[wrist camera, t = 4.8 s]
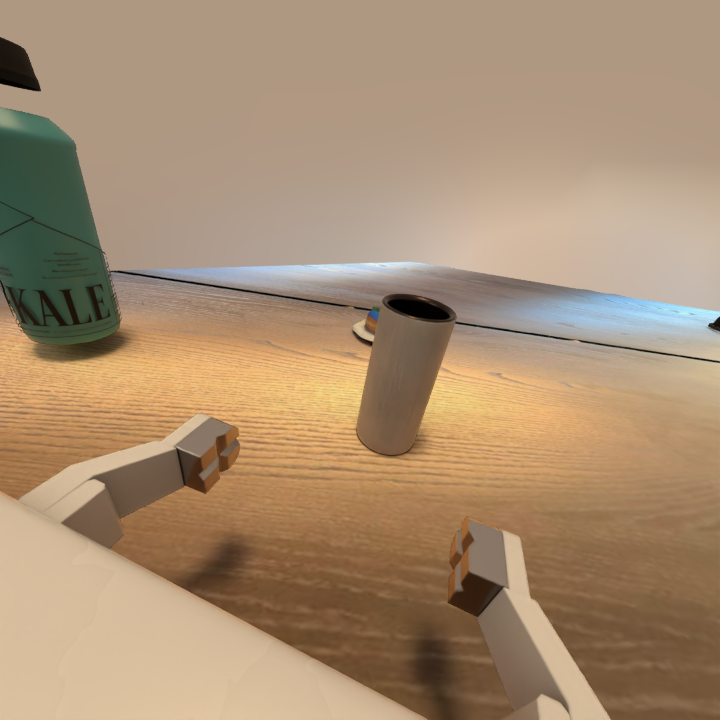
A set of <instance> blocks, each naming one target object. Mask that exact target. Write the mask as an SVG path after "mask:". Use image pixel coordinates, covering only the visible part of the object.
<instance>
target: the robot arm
mask: <svg viewBox="0 0 720 720" xmlns="http://www.w3.org/2000/svg"><path fill="white" fill-rule="evenodd" d="M238 436H239V430H238V428H236V427H234V426H232V425H229V424H227V423H225V422H222V421H220V420H218V419H215V418H213V417H210V416H208V415H205V414H203V413H200V414H196V415H195V416H193V417H192V418H191V419H189V420H188V421H187V422H185V423H184V424H183V425H181V426H180V427H179V428H177V429H176V430H175V431H173V432H172V433H171V434H169V435H168V436H167V437H165V438H164V439H163V440H161V441H158V440H155V441H152V442H148V443H145V444H142V445H138V446H135V447H131V448H128V449H125V450H121V451H118V452H114V453H111V454H108V455H104V456H101V457H97V458H94V459H91V460H87V461H84V462H80V463H77V464H73V465H70V466H69V467H67V468H65V469H64V470H62V471H61V472H59V473H58V474H56V475H55V476H53V477H51V478H50V479H48V480H47V481H45V482H44V483H42V484H41V485H39V486H37V487H36V488H34V489H33V490H31V491H30V492H28V493H27V494H25V495H23V496H22V497H20V498H19V499H17V500H16V499H14V498H12V497H11V496H9V495H7V494H5V493H3V492H1V491H0V720H428V719H426V718H425V717H423V716H421V715H419V714H417V713H415V712H413V711H411V710H410V709H408V708H406V707H404V706H402V705H400V704H398V703H396V702H395V701H393V700H391V699H389V698H387V697H385V696H383V695H381V694H380V693H378V692H376V691H374V690H372V689H370V688H368V687H366V686H365V685H363V684H361V683H359V682H357V681H355V680H353V679H352V678H350V677H348V676H346V675H344V674H342V673H340V672H338V671H337V670H335V669H333V668H331V667H329V666H327V665H325V664H323V663H322V662H320V661H318V660H316V659H314V658H312V657H310V656H308V655H307V654H305V653H303V652H301V651H299V650H297V649H295V648H293V647H292V646H290V645H288V644H286V643H284V642H282V641H280V640H278V639H277V638H275V637H273V636H271V635H269V634H267V633H265V632H263V631H262V630H260V629H258V628H256V627H254V626H252V625H250V624H248V623H247V622H245V621H243V620H241V619H239V618H237V617H235V616H234V615H232V614H230V613H228V612H226V611H224V610H222V609H220V608H219V607H217V606H215V605H213V604H211V603H209V602H207V601H205V600H204V599H202V598H200V597H198V596H196V595H194V594H192V593H190V592H189V591H187V590H185V589H183V588H181V587H179V586H177V585H175V584H174V583H172V582H170V581H168V580H166V579H164V578H162V577H160V576H159V575H157V574H155V573H153V572H151V571H149V570H147V569H145V568H144V567H142V566H140V565H138V564H136V563H134V562H132V561H130V560H129V559H127V558H125V557H123V556H121V555H119V554H117V553H115V552H114V551H112V550H110V548H111V547H112V546H113V545H114V544H115V543H116V542H117V541H118V540H119V539H120V538H121V537H122V536H123V535H124V531H125V530H124V528H123V525H122V523H121V521H120V518H122V517H124V516H127V515H129V514H131V513H133V512H135V511H137V510H139V509H141V508H143V507H145V506H147V505H149V504H151V503H153V502H155V501H157V500H159V499H161V498H163V497H165V496H167V495H169V494H171V493H173V492H175V491H177V490H179V489H181V488H183V487H184V485H185V486H188V487H190V488H193V489H195V490H197V491H200V492H202V493H205V494H206V493H207V492H208V491H209V490H210V489H211V488H212V487H213V485H214V484H215V483H216V482H217V481H218V480H219V479H220V472H222V471H225V470H227V469H229V468H230V467H231V466H232V465H233V463H234V462H235V460H236V459H237V457H238V455H239V451H240V444H239V442H238V441H237V439H236V438H237V437H238ZM449 562H450V564H451V567H452V569H453V572H452V573H451V575H450V577H449V581H448V603H449V604H451V605H453V606H455V607H457V608H459V609H461V610H464V611H466V612H468V613H470V614H472V615H474V616H476V617H478V618H477V621H478V623H479V626H480V628H481V631H482V633H483V636H484V638H485V641H486V644H487V646H488V649H489V651H490V654H491V656H492V659H493V661H494V664H495V666H496V669H497V671H498V674H499V677H500V679H501V682H502V684H503V687H504V689H505V692H506V694H507V697H508V699H509V702H510V705H511V707H512V710H513V712H512V713H510V714H509V715H507V716H506V717H504V718H503V719H501V720H611V719H610V717H609V716H608V714H607V713H606V711H605V709H604V708H603V706H602V705H601V703H600V701H599V700H598V698H597V697H596V695H595V693H594V692H593V690H592V689H591V687H590V686H589V684H588V682H587V681H586V679H585V678H584V676H583V674H582V673H581V671H580V670H579V668H578V666H577V665H576V663H575V662H574V660H573V658H572V657H571V655H570V654H569V652H568V651H567V649H566V647H565V646H564V644H563V643H562V641H561V639H560V638H559V636H558V635H557V633H556V631H555V630H554V628H553V627H552V625H551V623H550V622H549V620H548V619H547V617H546V615H545V614H544V612H543V611H542V609H541V608H540V606H539V604H538V603H537V601H535V600H533V599H531V597H530V591H529V585H528V580H527V574H526V568H525V562H524V556H523V550H522V544H521V540H520V538H519V536H517V535H514V534H512V533H509V532H507V531H504V530H501V529H499V528H497V527H495V526H492V525H489V524H486V523H484V522H481V521H478V520H476V519H473V518H470V517H468V516H467V517H465V518H464V519H463V521H462V526H461V530H458V531H457V532H456V534H455V536H454V538H453V541H452V545H451V550H450V561H449Z"/></svg>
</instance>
